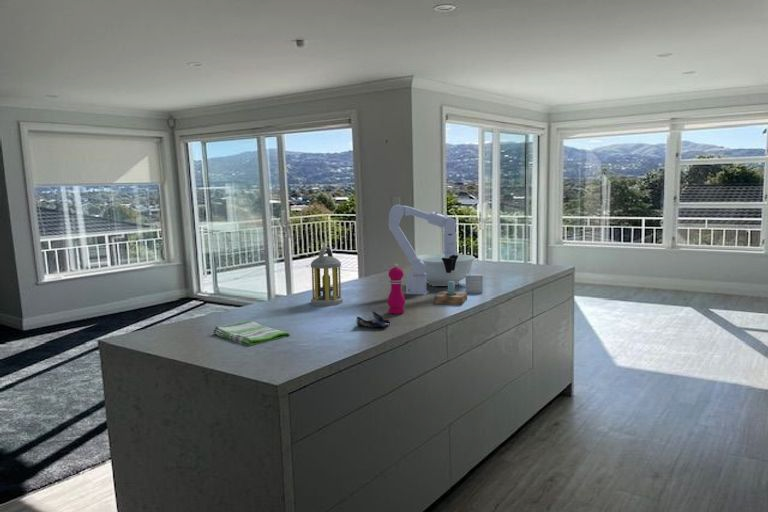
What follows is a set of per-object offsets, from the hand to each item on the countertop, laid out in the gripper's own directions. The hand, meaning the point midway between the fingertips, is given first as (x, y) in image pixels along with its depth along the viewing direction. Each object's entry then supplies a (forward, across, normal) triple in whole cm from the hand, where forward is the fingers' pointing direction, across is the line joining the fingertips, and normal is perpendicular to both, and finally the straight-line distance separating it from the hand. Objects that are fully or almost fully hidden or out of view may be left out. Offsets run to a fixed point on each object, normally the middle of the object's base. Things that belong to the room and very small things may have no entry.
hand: (450, 271), depth 262 cm
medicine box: (+11, +4, -10) cm, 16 cm away
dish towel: (+10, -93, +51) cm, 106 cm away
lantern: (+10, -35, +48) cm, 61 cm away
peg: (+10, -20, -4) cm, 23 cm away
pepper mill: (+10, -46, +12) cm, 49 cm away
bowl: (+11, +22, +8) cm, 26 cm away
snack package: (+10, -70, +14) cm, 72 cm away
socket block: (+10, -20, -4) cm, 23 cm away
